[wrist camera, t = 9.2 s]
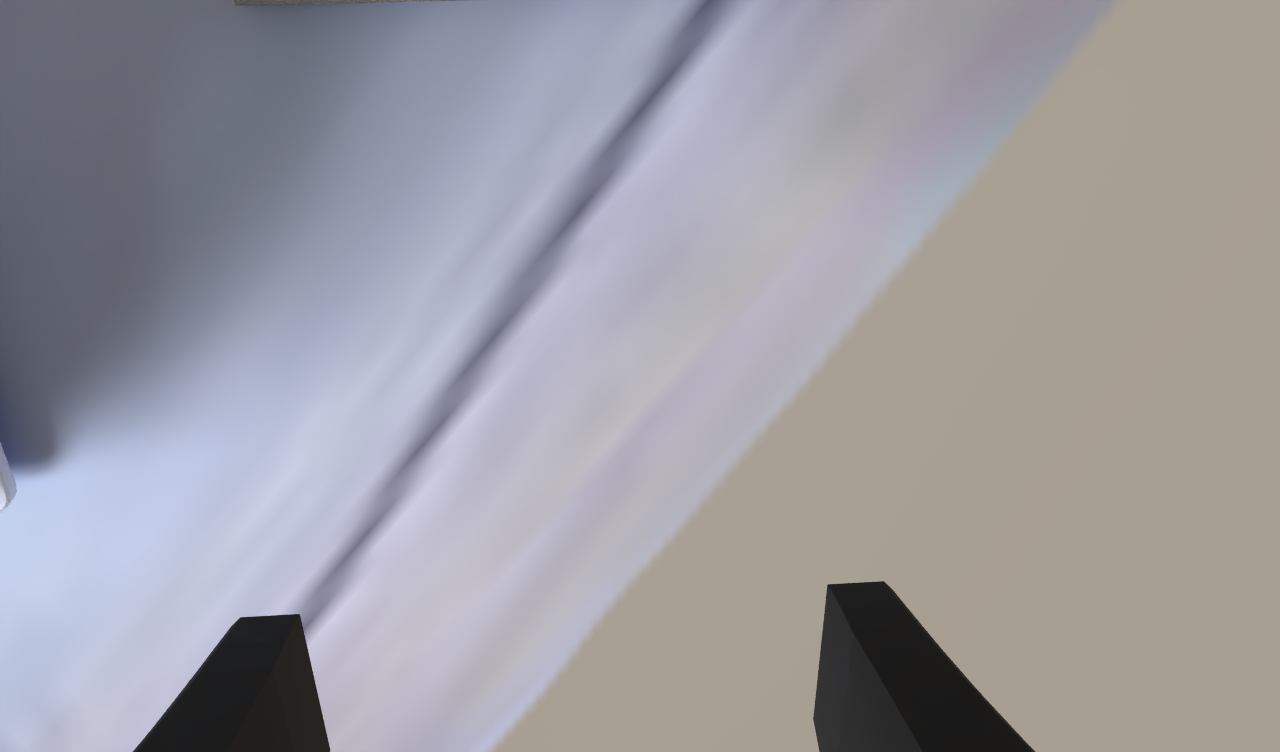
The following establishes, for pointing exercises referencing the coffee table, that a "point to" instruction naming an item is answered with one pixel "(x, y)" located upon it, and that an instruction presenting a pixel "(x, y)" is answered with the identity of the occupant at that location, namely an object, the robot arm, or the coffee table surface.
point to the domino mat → (315, 1)
